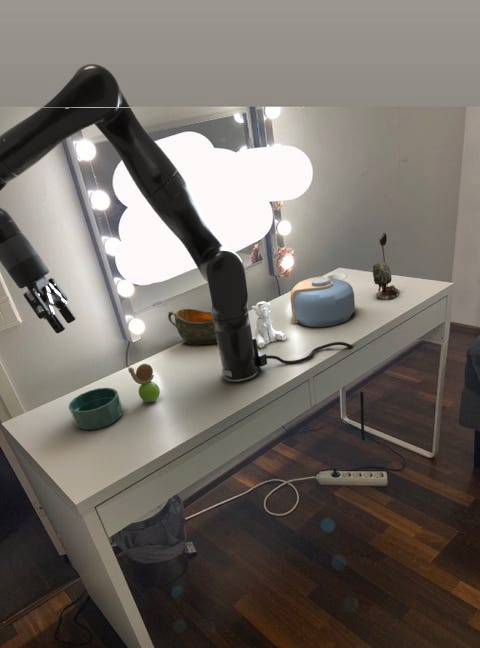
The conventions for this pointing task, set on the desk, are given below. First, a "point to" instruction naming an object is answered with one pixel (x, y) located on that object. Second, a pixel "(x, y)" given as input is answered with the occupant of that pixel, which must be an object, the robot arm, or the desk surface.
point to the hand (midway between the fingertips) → (67, 326)
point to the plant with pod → (383, 276)
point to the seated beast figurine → (265, 326)
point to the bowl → (96, 408)
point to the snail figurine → (145, 382)
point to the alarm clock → (322, 302)
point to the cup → (194, 326)
